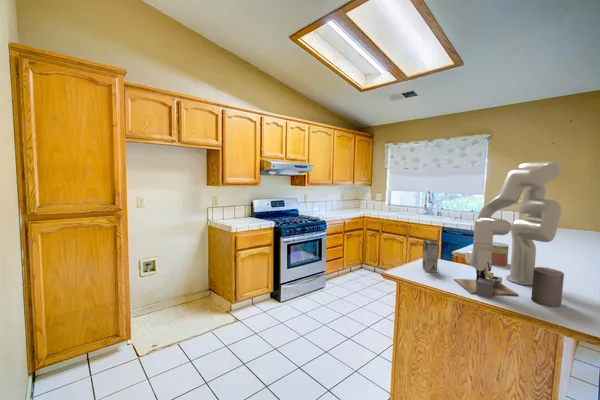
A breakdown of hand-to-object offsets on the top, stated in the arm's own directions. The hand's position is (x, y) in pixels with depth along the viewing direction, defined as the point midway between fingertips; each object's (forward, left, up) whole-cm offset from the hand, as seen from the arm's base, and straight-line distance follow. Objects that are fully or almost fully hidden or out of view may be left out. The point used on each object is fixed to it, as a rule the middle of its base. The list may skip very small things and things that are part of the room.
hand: (480, 283), depth 134 cm
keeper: (+1, +6, -2) cm, 7 cm away
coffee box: (+14, -26, -3) cm, 30 cm away
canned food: (-31, -43, -3) cm, 53 cm away
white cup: (-16, -42, -2) cm, 45 cm away
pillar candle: (-20, +13, -3) cm, 24 cm away
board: (-2, -1, -2) cm, 3 cm away
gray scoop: (-4, 0, -1) cm, 4 cm away
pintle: (-7, -5, -2) cm, 9 cm away
